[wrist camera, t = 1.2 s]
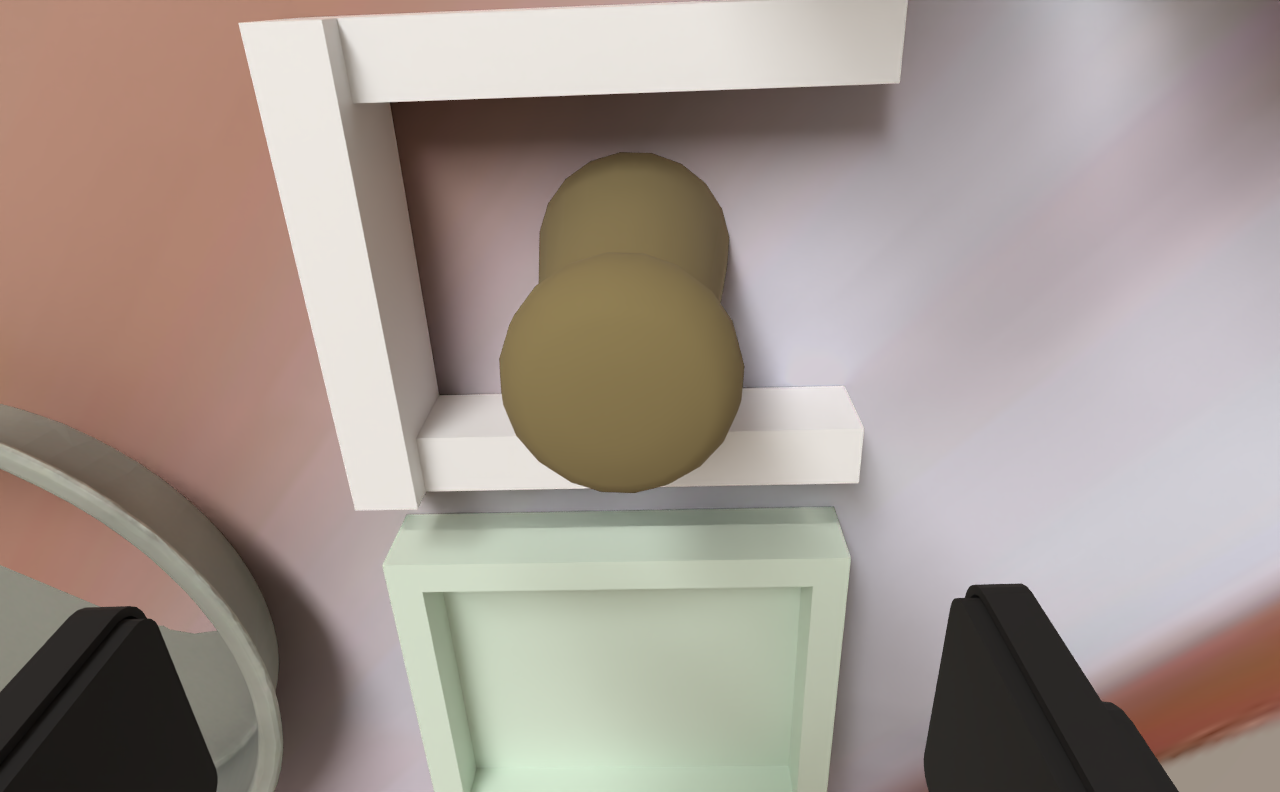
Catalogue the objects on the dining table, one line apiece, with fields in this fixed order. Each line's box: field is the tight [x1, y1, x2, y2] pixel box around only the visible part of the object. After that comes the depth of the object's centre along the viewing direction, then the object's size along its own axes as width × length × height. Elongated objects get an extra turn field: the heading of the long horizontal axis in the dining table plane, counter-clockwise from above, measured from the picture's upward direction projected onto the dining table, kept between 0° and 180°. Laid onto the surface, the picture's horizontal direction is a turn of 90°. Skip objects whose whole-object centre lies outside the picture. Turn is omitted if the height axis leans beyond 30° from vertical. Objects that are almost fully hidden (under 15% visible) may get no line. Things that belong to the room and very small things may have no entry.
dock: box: [239, 0, 908, 510], centre depth 24 cm, size 16×14×4 cm
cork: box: [499, 152, 744, 493], centre depth 21 cm, size 6×6×11 cm
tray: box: [382, 507, 851, 792], centre depth 32 cm, size 16×14×3 cm
